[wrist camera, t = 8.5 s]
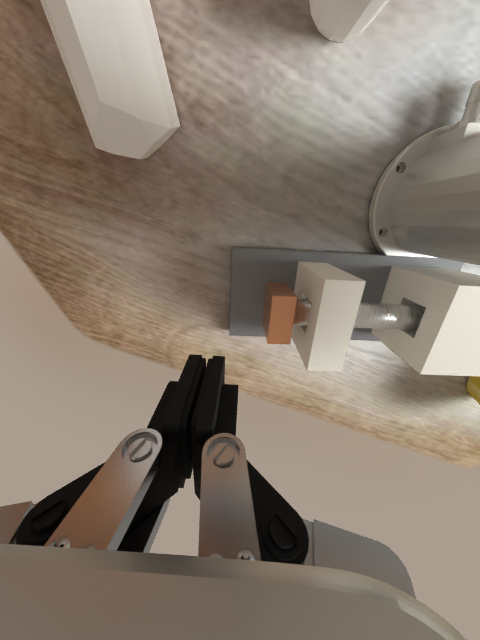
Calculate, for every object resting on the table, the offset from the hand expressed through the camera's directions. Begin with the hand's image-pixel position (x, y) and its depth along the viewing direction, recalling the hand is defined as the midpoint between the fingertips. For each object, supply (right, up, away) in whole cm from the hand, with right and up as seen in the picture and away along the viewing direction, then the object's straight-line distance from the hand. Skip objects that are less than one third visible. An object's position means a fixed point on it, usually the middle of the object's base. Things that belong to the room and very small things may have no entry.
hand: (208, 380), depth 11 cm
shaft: (+14, +4, +12) cm, 19 cm away
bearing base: (+13, +6, +16) cm, 21 cm away
